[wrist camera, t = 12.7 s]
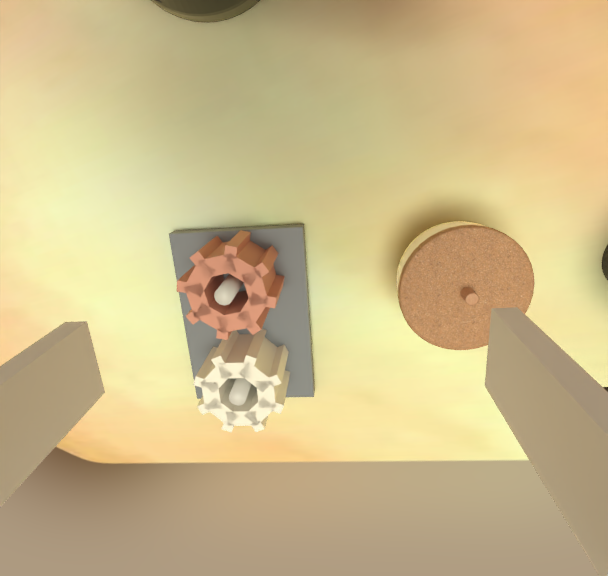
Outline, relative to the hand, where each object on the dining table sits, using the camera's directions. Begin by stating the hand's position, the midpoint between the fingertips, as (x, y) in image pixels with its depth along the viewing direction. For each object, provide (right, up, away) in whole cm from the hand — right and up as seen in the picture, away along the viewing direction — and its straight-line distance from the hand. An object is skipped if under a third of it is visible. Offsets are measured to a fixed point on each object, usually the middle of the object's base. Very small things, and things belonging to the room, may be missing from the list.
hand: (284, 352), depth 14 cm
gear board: (-5, -1, +31) cm, 32 cm away
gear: (-6, +4, +28) cm, 29 cm away
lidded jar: (+14, +4, +28) cm, 32 cm away
